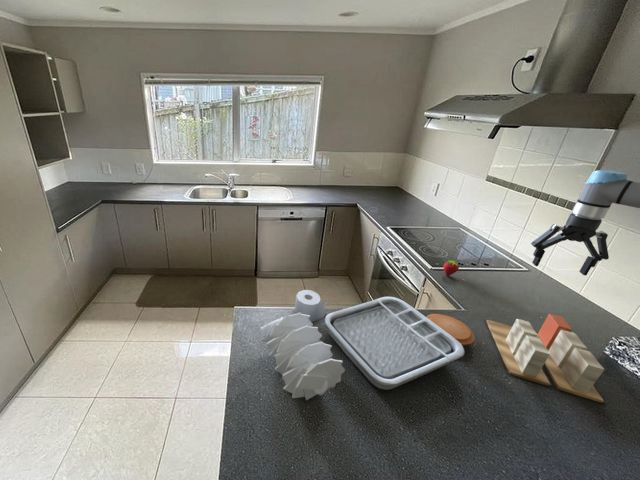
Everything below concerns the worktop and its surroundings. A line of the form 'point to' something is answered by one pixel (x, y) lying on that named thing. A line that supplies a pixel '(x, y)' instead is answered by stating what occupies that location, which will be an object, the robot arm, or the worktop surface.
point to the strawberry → (450, 267)
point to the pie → (453, 328)
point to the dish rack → (391, 341)
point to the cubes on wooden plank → (573, 366)
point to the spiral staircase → (301, 356)
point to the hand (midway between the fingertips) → (558, 269)
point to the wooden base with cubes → (521, 350)
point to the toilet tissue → (310, 305)
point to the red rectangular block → (552, 329)
